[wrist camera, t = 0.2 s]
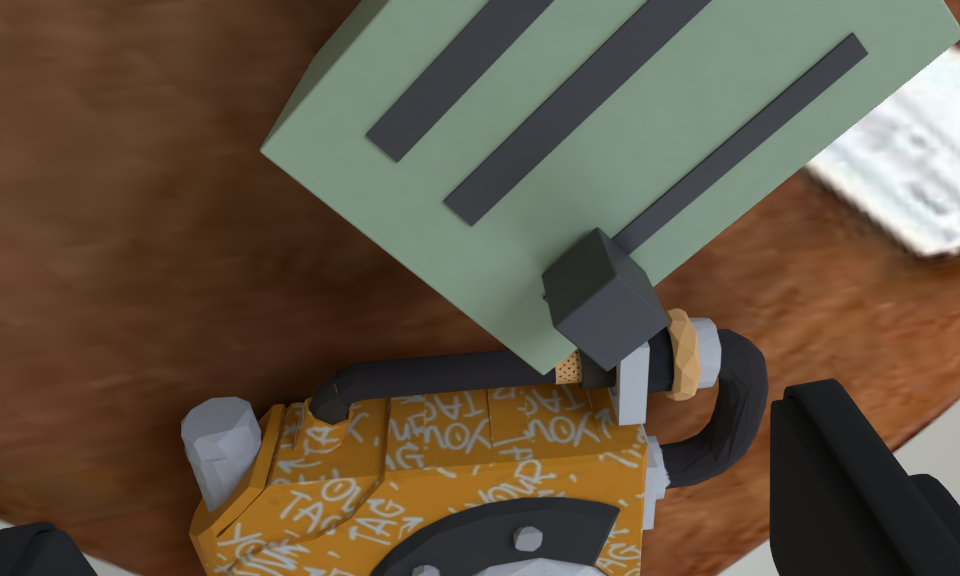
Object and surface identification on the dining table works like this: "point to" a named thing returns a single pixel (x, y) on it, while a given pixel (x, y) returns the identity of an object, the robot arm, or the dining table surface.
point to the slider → (602, 300)
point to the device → (466, 462)
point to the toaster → (579, 128)
